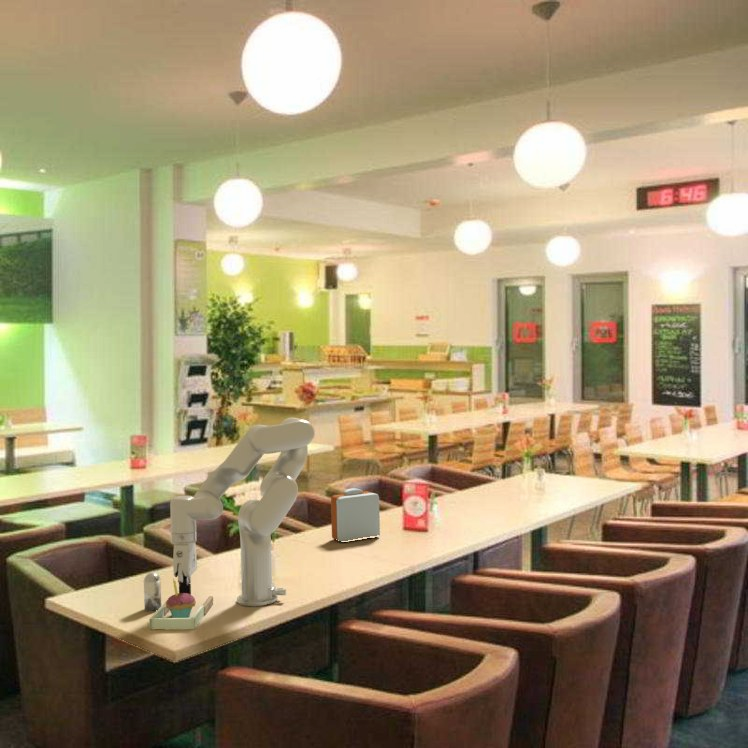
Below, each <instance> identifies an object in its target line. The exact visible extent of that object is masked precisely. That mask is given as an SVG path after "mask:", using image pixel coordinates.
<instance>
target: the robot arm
mask: <svg viewBox="0 0 748 748" xmlns="http://www.w3.org/2000/svg"><path fill="white" fill-rule="evenodd" d="M314 437H315V428H314V427H313V424H311V423H310V421H308V420H306V419H302V418H298V417H287V418H285V419H284V420H282V422H281V423H280V424H274V425H264V424H254V425H251V426H250V428H248V430H247V431H246V432H245V433H244V435H243V436H242V437H241V438H240V440H239V441H238V442H237V444H236V445H235V447H234V448H233V449H232V450H231V452H230V453H229V455H228V456H227V457H226V458H225V460H224V461H222V463H220V464H219V466H217V468H216V469H214V470H213V472H211V473H210V474H209V476H207V478H206V479H205V480H204V481H203V483H202V484H201V485H200V487H199V488H198V490H197V491H196V493H194V495H193V496H191V495H178V496H174V497H172V498H171V499H170V502H169V506H170V507H169V509H170V513H169V514H170V543H171V544H172V545H173V550H172V551H173V555H172V556H173V558H172V559H173V560H172V561H173V563H172V564H173V566H172V567H173V568H172V569H173V570H172V571H173V576H174V577H175V578H177V583H178V593H188V594H190V595H192V586H191V585H192V583H191V582H192V581H191V580H192V579H191V578H192V575H193V574H195V572H197V570H198V560H197V559H198V557H197V548H196V547H197V546H196V542H198V541H197V520H198V521H199V520H200V521H201V520H202V521H213V520H216V519H218V518H219V517H221V515H222V514H223V511H224V505H223V502H222V500H221V498H222V496H223V495H225V493H226V491H228V490H229V488H230V487H232V486H233V485H234V484H236V483H238V482H241V481H242V480H245V479H246V478H247V477H248V476H249V475H250V473H251V472H252V470H254V468H255V467H256V465H257V464H258V463H259V461H260V460H261V459H262V457H263V456H264V455H268V454H270V455H271V454H276V453H279V455H278V457H277V459H276V461H275V462H274V464H273V465H272V466H271V467H270V469H269V471H268V472H267V473H266V474H265V476H264V477H263V479H262V480H261V483H260V485H259V489H260V493H261V495H262V496H261V498H260V499H259V500H258V499H249V500H247V501H245V502H244V503H243V504H241V506H240V507H239V510H238V513H237V514H238V515H237V521H238V522H237V523H238V531H239V537H240V538H239V539H240V540H239V541H240V569H241V571H240V572H241V573H240V574H241V576H240V577H241V594H240V595H238V596H237V597H236V602H237V604H238V605H241V606H247V607H261V606H267V604H268V605H271V604H273V602H274V603H275V602H277V600H278V596H287V588H284V587H275V583H273V568H272V563H273V561H272V539H271V538H272V537H271V534H273V533H274V532H275V531H276V530H277V529H278V527H279V526H280V525H281V523H282V522H283V520H284V519H285V518H286V516H287V514H288V513H289V511H290V510H291V508H292V507H293V506H294V503H295V502H296V500H297V497H298V494H299V487H298V486H299V485H298V483H297V482H296V480H297V478H298V477H299V475H300V473H301V472H302V470H303V468H304V467H305V465H306V464H307V463H306V462H307V460H308V445H309V444H311V443H312V442H313V440H314Z"/></svg>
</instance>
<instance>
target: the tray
mask: <svg viewBox="0 0 748 748" xmlns="http://www.w3.org/2000/svg"><path fill="white" fill-rule="evenodd" d="M163 616H164V606H162V605H161V607H160V608H159V609H158V610H157V611H155V613H153V615H152V616H151V617H150V618H149V620H148V621H149V630H150V629H165V630H195V629H196V628H197V626H198V625H199V623H200V622H201V621H202V619H203V618H204V617H205V615H204V605H203V604H201V605H200V607H199V608H198V609H197V611H196V612H195V613H194V614H193V616H192V617H189V618H173V617H165V616H164V617H163Z"/></svg>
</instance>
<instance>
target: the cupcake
mask: <svg viewBox="0 0 748 748" xmlns="http://www.w3.org/2000/svg"><path fill="white" fill-rule="evenodd" d="M172 580H173V581H172V583H173V588H174V593H175V594H172V595H171V596H169V597H168V598H167V600H166V601H165V602H166V607H167V608H169V612H170V614H171V618H190V616H191V612H192V609H193V607H196V599H195V597H194V596H193V595H192V594H191V595H190V594H188V593H179V591H178V588H177V582H176V580H175V579H174V578H172Z"/></svg>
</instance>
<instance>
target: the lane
mask: <svg viewBox="0 0 748 748" xmlns="http://www.w3.org/2000/svg"><path fill="white" fill-rule="evenodd" d="M202 605H204V616H206V615H207V614H208V612H209V611H210V609H212V607H213V605H214V596H213V595H211V596H210V595H209V596H208V597H207V599H205V600H204V603H203V604H202ZM161 606H164V617H165V616H166V615H167V614H168V613H169V612H170V610H169V608H167V607H166V601H165V602H164V603H163V604H161ZM167 612H168V613H167Z"/></svg>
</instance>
